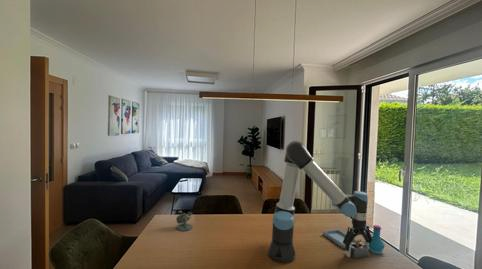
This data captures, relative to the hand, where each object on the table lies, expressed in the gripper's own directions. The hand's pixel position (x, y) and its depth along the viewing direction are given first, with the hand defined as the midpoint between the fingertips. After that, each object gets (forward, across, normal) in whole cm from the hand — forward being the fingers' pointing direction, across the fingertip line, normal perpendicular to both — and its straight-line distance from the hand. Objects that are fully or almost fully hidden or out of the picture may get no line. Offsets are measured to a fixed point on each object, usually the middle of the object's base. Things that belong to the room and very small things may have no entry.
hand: (357, 254), depth 142 cm
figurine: (0, -92, +61) cm, 111 cm away
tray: (0, +4, +17) cm, 18 cm away
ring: (0, 0, 0) cm, 0 cm away
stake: (0, 0, 0) cm, 0 cm away
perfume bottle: (0, +15, +1) cm, 15 cm away
